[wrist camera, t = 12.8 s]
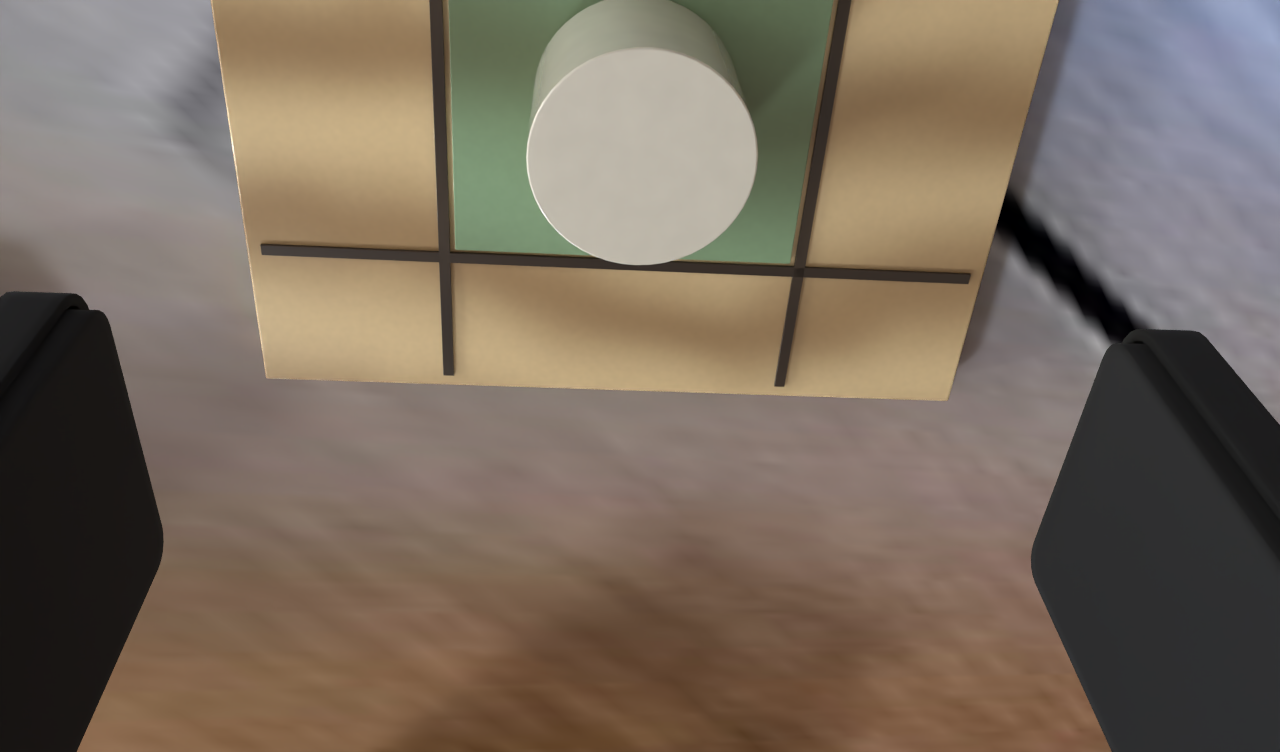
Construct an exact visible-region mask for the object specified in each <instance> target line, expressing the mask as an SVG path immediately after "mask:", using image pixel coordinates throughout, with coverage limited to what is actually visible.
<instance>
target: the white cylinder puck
mask: <svg viewBox="0 0 1280 752" xmlns="http://www.w3.org/2000/svg"><path fill="white" fill-rule="evenodd" d="M526 162H527V173H528V178H529V183H530V187H531V190H532V193H533V196H534V198H535V200H536V202H537V204H538V206H539V208H540V210H541V212H542V213H543V215H544V216H545V218H546V219H547V220H548V222H549V223H550V224H551V225H552V226H553V228H554V229H555V230H556V231H557V232H558V233H559V234H560V235H561V236H563V237H564V238H565V239H566V240H567V241H568V242H570V243H571V244H573V245H574V246H576V247H578V248H579V249H581V250H582V251H584V252H586V253H589V254H591V255H593V256H595V257H598V258H601V259H604V260H606V261H611V262H615V263H620V264H628V265H653V264H660V263H666V262H670V261H673V260H677V259H680V258H683V257H685V256H688V255H690V254H692V253H694V252H696V251H698V250H700V249H702V248H704V247H705V246H707V245H708V244H709V243H711V242H712V241H714V240H715V239H716V238H717V237H719V236H720V235H721V234H722V233H723V232H724V231H725V230H726V229H727V228H728V227H729V226H730V225H731V224H732V223H733V221H734V220H735V219H736V218H737V216H738V215H739V213H740V212H741V210H742V209H743V207H744V205H745V203H746V201H747V199H748V197H749V195H750V193H751V190H752V187H753V184H754V181H755V176H756V172H757V164H758V143H757V136H756V131H755V127H754V123H753V121H752V118H751V115H750V112H749V109H748V106H747V103H746V101H745V98H744V95H743V92H742V89H741V86H740V83H739V81H738V78H737V75H736V72H735V69H734V66H733V64H732V61H731V58H730V55H729V53H728V51H727V49H726V47H725V46H724V44H723V42H722V40H721V39H720V38H719V36H718V35H717V34H716V32H715V31H714V30H713V29H712V28H711V27H710V26H709V25H708V24H707V23H706V21H704V20H703V19H702V18H700V17H699V16H698V15H697V14H695V13H694V12H692V11H691V10H689V9H687V8H685V7H684V6H682V5H679V4H677V3H675V2H672V1H670V0H604V1H601V2H598V3H596V4H594V5H591V6H589V7H587V8H586V9H584V10H582V11H581V12H579V13H577V14H576V15H575V16H573V17H572V18H571V19H570V20H568V21H567V22H566V23H565V24H564V25H563V26H562V27H561V28H560V29H559V30H558V31H557V32H556V34H555V35H554V36H553V38H552V39H551V41H550V42H549V43H548V45H547V47H546V49H545V51H544V53H543V54H542V57H541V59H540V62H539V65H538V67H537V72H536V76H535V81H534V89H533V98H532V106H531V115H530V124H529V132H528V141H527V153H526Z"/></svg>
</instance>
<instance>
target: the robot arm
mask: <svg viewBox="0 0 1280 752" xmlns="http://www.w3.org/2000/svg"><path fill="white" fill-rule="evenodd" d="M162 553H163V529H162V524H161V520H160V516H159V513H158V509H157V505H156V501H155V497H154V493H153V489H152V486H151V482H150V478H149V474H148V470H147V466H146V462H145V458H144V455H143V451H142V447H141V443H140V439H139V435H138V431H137V428H136V424H135V420H134V416H133V412H132V408H131V404H130V401H129V397H128V393H127V389H126V385H125V381H124V377H123V373H122V370H121V366H120V362H119V358H118V354H117V350H116V346H115V343H114V339H113V335H112V331H111V327H110V324H109V321H108V319H107V317H106V316H105V314H104V313H103V312H101V311H99V310H89V308H88V306H87V304H86V302H85V301H84V300H83V298H82V297H81V296H79V295H77V294H72V293H42V292H7V293H5V294H4V295H3V296H1V297H0V752H77V750H78V747H79V745H80V743H81V741H82V738H83V736H84V734H85V732H86V729H87V727H88V725H89V723H90V720H91V718H92V716H93V714H94V711H95V709H96V707H97V705H98V703H99V700H100V698H101V696H102V694H103V691H104V689H105V687H106V685H107V682H108V680H109V678H110V676H111V673H112V671H113V669H114V667H115V664H116V662H117V660H118V658H119V655H120V653H121V651H122V649H123V646H124V644H125V642H126V640H127V638H128V635H129V633H130V631H131V629H132V626H133V624H134V622H135V620H136V617H137V615H138V613H139V611H140V608H141V606H142V604H143V602H144V599H145V597H146V595H147V593H148V590H149V588H150V586H151V584H152V581H153V579H154V577H155V575H156V572H157V570H158V568H159V565H160V562H161V557H162ZM1031 568H1032V574H1033V578H1034V581H1035V584H1036V586H1037V588H1038V590H1039V592H1040V595H1041V597H1042V599H1043V601H1044V603H1045V606H1046V608H1047V610H1048V612H1049V614H1050V617H1051V619H1052V621H1053V623H1054V625H1055V628H1056V630H1057V632H1058V634H1059V636H1060V639H1061V641H1062V643H1063V645H1064V647H1065V650H1066V652H1067V654H1068V656H1069V658H1070V661H1071V663H1072V665H1073V667H1074V669H1075V671H1076V674H1077V676H1078V678H1079V680H1080V682H1081V685H1082V687H1083V689H1084V691H1085V693H1086V696H1087V698H1088V700H1089V702H1090V704H1091V707H1092V709H1093V711H1094V713H1095V715H1096V718H1097V720H1098V722H1099V724H1100V726H1101V729H1102V731H1103V733H1104V735H1105V737H1106V740H1107V742H1108V744H1109V746H1110V748H1111V750H1112V752H1280V425H1279V424H1278V423H1277V421H1276V420H1275V419H1274V418H1273V417H1272V415H1271V414H1270V413H1269V412H1268V411H1267V409H1266V408H1265V407H1264V406H1263V405H1262V403H1261V402H1260V401H1259V400H1258V399H1257V398H1256V396H1255V395H1254V394H1253V393H1252V392H1251V390H1250V389H1249V388H1248V387H1247V386H1246V384H1245V383H1244V382H1243V381H1242V380H1241V378H1240V377H1239V376H1238V375H1237V374H1236V373H1235V371H1234V370H1233V369H1232V368H1231V367H1230V365H1229V364H1228V363H1227V362H1226V361H1225V359H1224V358H1223V357H1222V356H1221V355H1220V354H1219V352H1218V351H1217V350H1216V349H1215V348H1214V346H1213V345H1212V344H1211V343H1210V342H1209V340H1208V339H1207V338H1206V337H1205V336H1203V335H1202V334H1201V333H1200V332H1196V331H1185V330H1155V329H1137V330H1134V331H1132V332H1130V333H1129V334H1128V335H1127V336H1126V337H1125V339H1124V340H1123V342H1122V343H1116V344H1113V345H1111V346H1110V347H1109V348H1108V349H1107V351H1106V353H1105V355H1104V357H1103V359H1102V362H1101V364H1100V367H1099V370H1098V372H1097V375H1096V378H1095V380H1094V383H1093V386H1092V388H1091V391H1090V394H1089V396H1088V399H1087V402H1086V404H1085V407H1084V410H1083V412H1082V415H1081V418H1080V420H1079V423H1078V426H1077V428H1076V431H1075V434H1074V436H1073V439H1072V442H1071V444H1070V447H1069V450H1068V452H1067V455H1066V458H1065V460H1064V463H1063V466H1062V469H1061V471H1060V474H1059V477H1058V479H1057V482H1056V485H1055V487H1054V490H1053V493H1052V495H1051V498H1050V501H1049V503H1048V506H1047V509H1046V511H1045V514H1044V517H1043V519H1042V522H1041V525H1040V527H1039V530H1038V533H1037V535H1036V538H1035V541H1034V544H1033V548H1032V554H1031Z"/></svg>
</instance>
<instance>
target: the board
mask: <svg viewBox="0 0 1280 752" xmlns="http://www.w3.org/2000/svg"><path fill="white" fill-rule="evenodd" d="M601 1H604V0H211V6H212V13H213V19H214V26H215V33H216V40H217V47H218V54H219V60H220V67H221V74H222V81H223V88H224V94H225V101H226V108H227V115H228V122H229V128H230V135H231V142H232V149H233V156H234V162H235V169H236V176H237V183H238V190H239V196H240V203H241V210H242V217H243V224H244V230H245V237H246V244H247V251H248V258H249V264H250V271H251V278H252V285H253V292H254V298H255V305H256V312H257V319H258V326H259V332H260V339H261V346H262V353H263V360H264V366H265V373H266V378H271V379H302V380H332V381H362V382H392V383H422V384H452V385H483V386H513V387H543V388H573V389H603V390H634V391H664V392H694V393H724V394H754V395H785V396H815V397H845V398H875V399H905V400H935V401H948V399H949V395H950V391H951V388H952V384H953V381H954V377H955V373H956V370H957V366H958V363H959V359H960V355H961V352H962V348H963V345H964V341H965V337H966V334H967V330H968V327H969V323H970V319H971V316H972V312H973V309H974V305H975V301H976V298H977V294H978V291H979V287H980V283H981V280H982V276H983V273H984V269H985V265H986V262H987V258H988V255H989V251H990V247H991V244H992V240H993V237H994V233H995V229H996V226H997V222H998V219H999V215H1000V211H1001V208H1002V204H1003V201H1004V197H1005V193H1006V190H1007V186H1008V183H1009V179H1010V175H1011V172H1012V168H1013V165H1014V161H1015V157H1016V154H1017V150H1018V147H1019V143H1020V139H1021V136H1022V132H1023V129H1024V125H1025V121H1026V118H1027V114H1028V111H1029V107H1030V103H1031V100H1032V96H1033V93H1034V89H1035V85H1036V82H1037V78H1038V75H1039V71H1040V67H1041V64H1042V60H1043V56H1044V53H1045V49H1046V46H1047V42H1048V38H1049V35H1050V31H1051V28H1052V24H1053V20H1054V17H1055V13H1056V10H1057V6H1058V2H1059V0H670V1H672V2H675V3H677V4H679V5H682V6H684V7H685V8H687V9H689V10H691V11H692V12H694V13H695V14H697V15H698V16H699V17H700V18H702V19H703V20H704V21H706V23H707V24H708V25H709V26H710V27H711V28H712V29H713V30H714V31H715V32H716V34H717V35H718V36H719V38H720V39H721V40H722V42H723V44H724V46H725V47H726V49H727V51H728V53H729V55H730V58H731V61H732V64H733V66H734V69H735V72H736V75H737V78H738V81H739V83H740V86H741V89H742V92H743V95H744V98H745V101H746V103H747V106H748V109H749V112H750V115H751V118H752V121H753V123H754V127H755V131H756V136H757V143H758V164H757V172H756V176H755V181H754V184H753V187H752V190H751V193H750V195H749V197H748V199H747V201H746V203H745V205H744V207H743V209H742V210H741V212H740V213H739V215H738V216H737V218H736V219H735V220H734V221H733V223H732V224H731V225H730V226H729V227H728V228H727V229H726V230H725V231H724V232H723V233H722V234H721V235H720V236H719V237H717V238H716V239H715V240H714V241H712V242H711V243H709V244H708V245H707V246H705V247H704V248H702V249H700V250H698V251H696V252H694V253H692V254H690V255H688V256H685V257H683V258H680V259H677V260H673V261H670V262H666V263H660V264H653V265H628V264H620V263H615V262H611V261H606V260H604V259H601V258H598V257H595V256H593V255H591V254H589V253H586V252H584V251H582V250H581V249H579V248H578V247H576V246H574V245H573V244H571V243H570V242H568V241H567V240H566V239H565V238H564V237H563V236H561V235H560V234H559V233H558V232H557V231H556V230H555V229H554V228H553V226H552V225H551V224H550V223H549V222H548V220H547V219H546V218H545V216H544V215H543V213H542V212H541V210H540V208H539V206H538V204H537V202H536V200H535V198H534V196H533V193H532V190H531V187H530V183H529V178H528V173H527V162H526V153H527V141H528V132H529V124H530V115H531V106H532V98H533V89H534V81H535V76H536V72H537V67H538V65H539V62H540V59H541V57H542V54H543V53H544V51H545V49H546V47H547V45H548V43H549V42H550V41H551V39H552V38H553V36H554V35H555V34H556V32H557V31H558V30H559V29H560V28H561V27H562V26H563V25H564V24H565V23H566V22H567V21H568V20H570V19H571V18H572V17H573V16H575V15H576V14H577V13H579V12H581V11H582V10H584V9H586V8H587V7H589V6H591V5H594V4H596V3H598V2H601Z"/></svg>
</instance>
